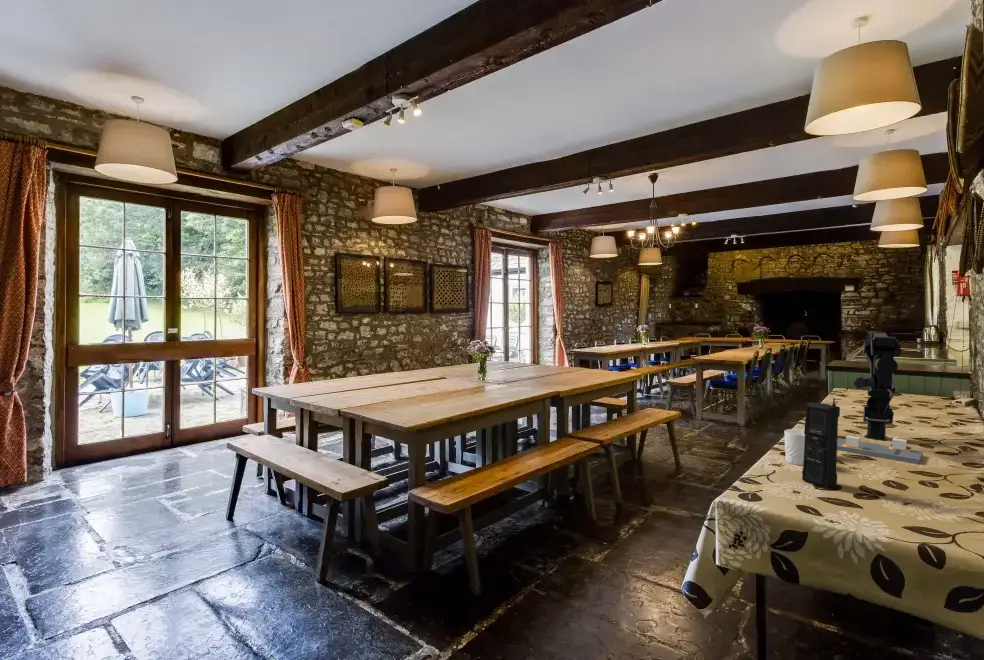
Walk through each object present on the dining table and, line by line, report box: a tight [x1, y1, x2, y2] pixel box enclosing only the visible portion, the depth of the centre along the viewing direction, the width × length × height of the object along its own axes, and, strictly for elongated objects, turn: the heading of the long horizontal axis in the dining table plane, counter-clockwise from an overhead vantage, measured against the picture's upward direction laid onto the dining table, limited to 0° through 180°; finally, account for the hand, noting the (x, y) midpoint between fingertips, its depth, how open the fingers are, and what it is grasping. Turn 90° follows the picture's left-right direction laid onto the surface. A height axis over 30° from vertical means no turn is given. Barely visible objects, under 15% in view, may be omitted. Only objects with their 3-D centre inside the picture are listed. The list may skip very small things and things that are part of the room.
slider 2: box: [891, 437, 908, 450], centre depth 171 cm, size 3×4×3 cm
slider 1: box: [845, 435, 861, 447], centre depth 174 cm, size 3×4×3 cm
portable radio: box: [801, 397, 841, 489], centre depth 141 cm, size 8×6×25 cm
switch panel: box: [837, 437, 924, 465], centre depth 172 cm, size 13×24×2 cm, turn 45°
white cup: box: [784, 428, 805, 467], centre depth 160 cm, size 8×8×10 cm
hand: (881, 413), depth 179 cm, fingers closed
